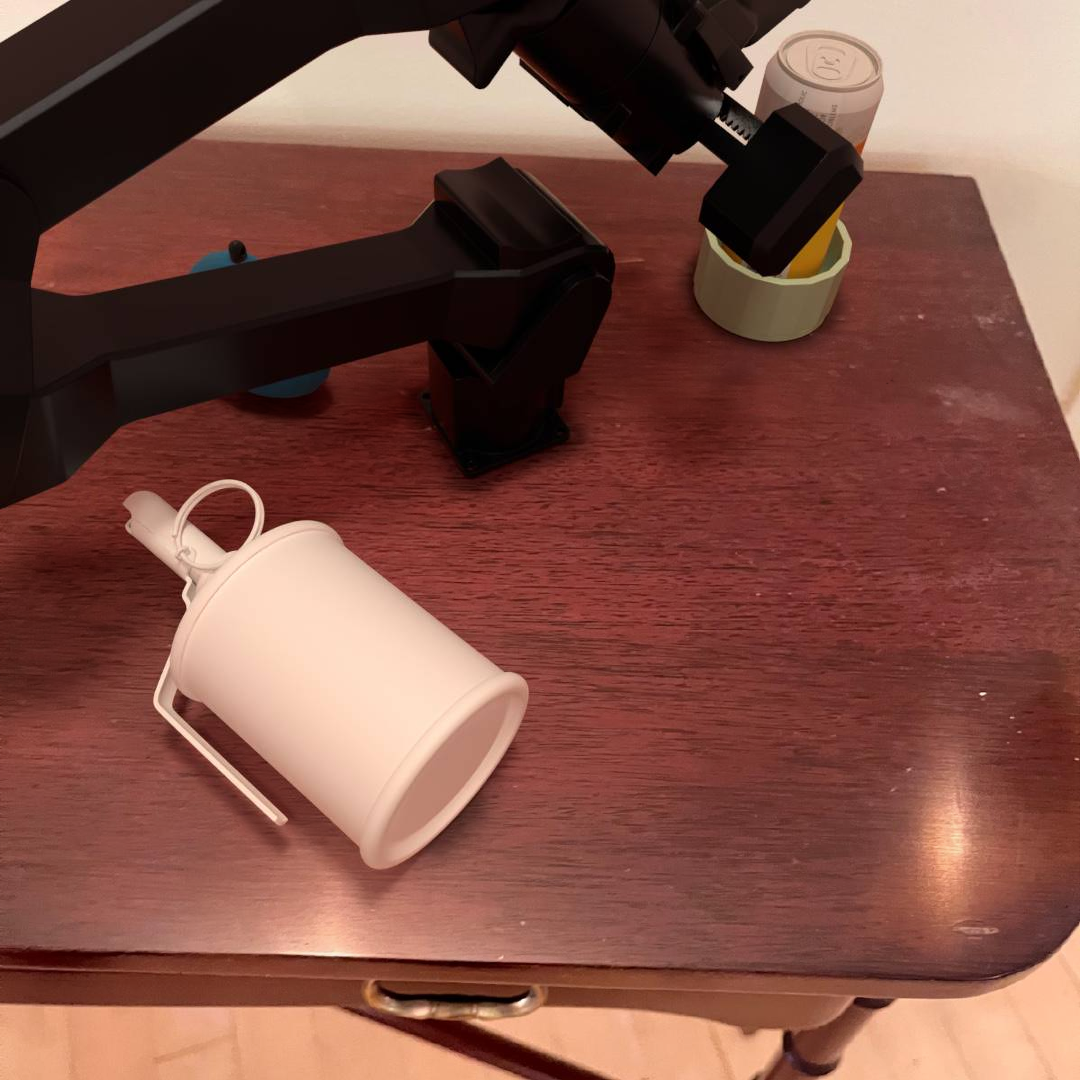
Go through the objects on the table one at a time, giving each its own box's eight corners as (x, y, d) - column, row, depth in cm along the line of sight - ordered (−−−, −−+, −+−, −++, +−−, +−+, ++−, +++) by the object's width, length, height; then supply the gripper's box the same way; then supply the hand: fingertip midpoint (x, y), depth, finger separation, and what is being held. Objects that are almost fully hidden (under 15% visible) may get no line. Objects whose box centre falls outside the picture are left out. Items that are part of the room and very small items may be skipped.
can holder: (745, 359, 60) (762, 301, 56) (667, 271, 64) (678, 212, 60) (857, 315, 63) (881, 258, 59) (775, 234, 67) (793, 175, 63)
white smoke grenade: (547, 705, 45) (246, 468, 51) (508, 656, 36) (152, 379, 43) (393, 901, 43) (101, 629, 49) (313, 898, 34) (-27, 569, 41)
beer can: (814, 267, 64) (895, 38, 52) (804, 331, 61) (887, 102, 49) (721, 247, 65) (778, 16, 53) (705, 309, 62) (763, 77, 49)
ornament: (356, 376, 58) (336, 234, 49) (319, 433, 55) (291, 293, 47) (226, 337, 59) (186, 191, 51) (184, 391, 56) (134, 246, 48)
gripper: (915, -54, 34) (993, 142, 47) (589, -248, 42) (732, -35, 55) (693, 217, 37) (822, 329, 50) (432, -10, 46) (601, 136, 59)
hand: (742, 178), depth 54 cm, fingers open, 9 cm apart
